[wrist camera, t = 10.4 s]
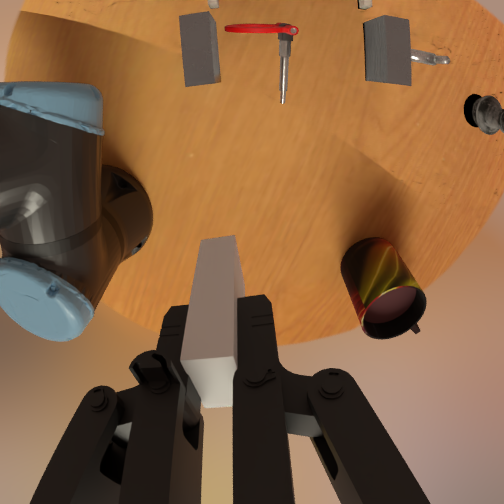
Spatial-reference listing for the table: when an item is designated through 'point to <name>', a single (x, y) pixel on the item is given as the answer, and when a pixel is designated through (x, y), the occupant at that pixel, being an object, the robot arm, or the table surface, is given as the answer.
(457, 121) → the table surface
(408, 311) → the mug
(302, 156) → the table surface
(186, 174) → the table surface
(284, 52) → the tow hook
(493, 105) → the chess piece
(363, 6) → the corral
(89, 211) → the robot arm
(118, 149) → the table surface
